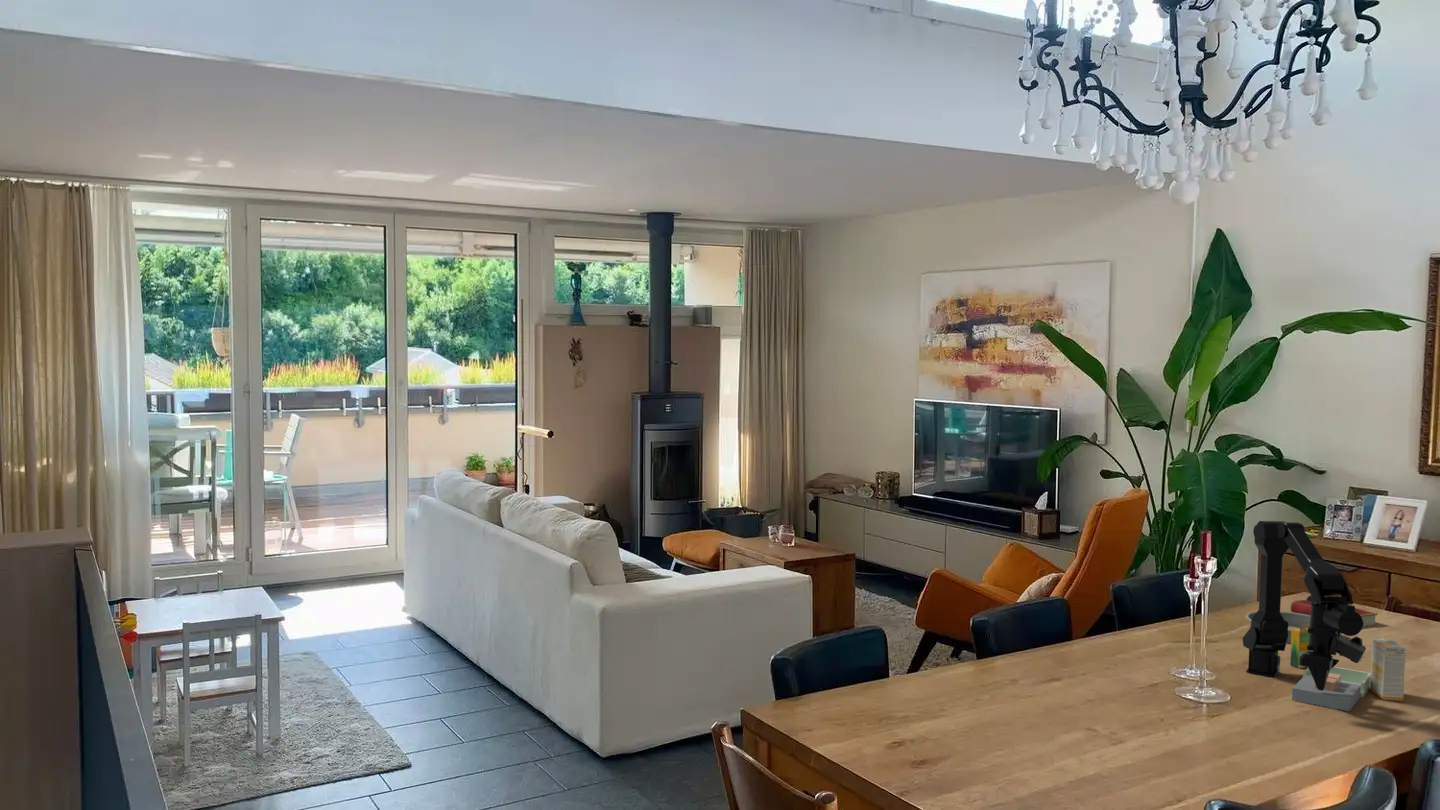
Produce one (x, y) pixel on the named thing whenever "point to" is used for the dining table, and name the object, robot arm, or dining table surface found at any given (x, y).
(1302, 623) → the cake pan
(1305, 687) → the grey base plate
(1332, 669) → the box
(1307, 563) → the robot arm
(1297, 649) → the crayon box
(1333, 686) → the tile
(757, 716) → the dining table surface
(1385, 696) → the supplement box
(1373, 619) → the hardcover book
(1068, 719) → the dining table surface
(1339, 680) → the tile
